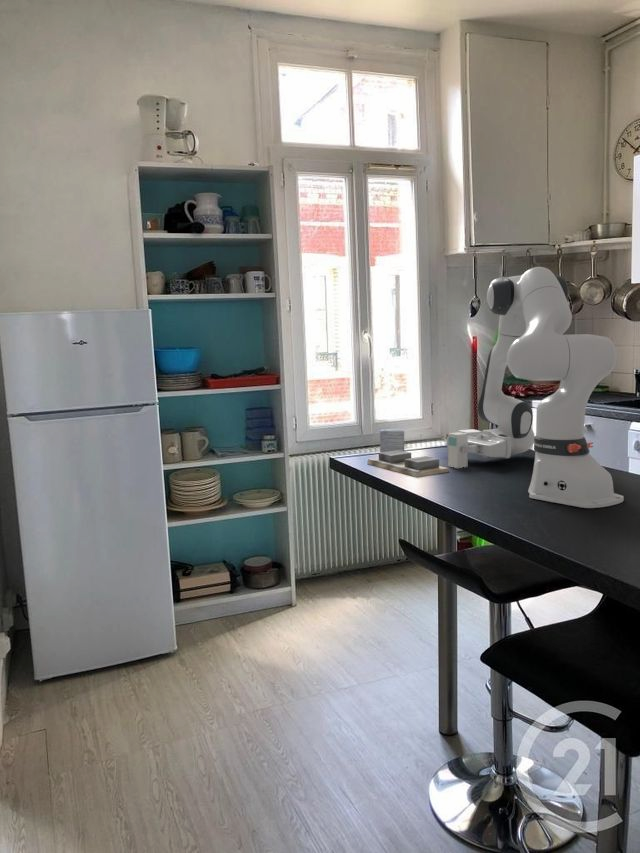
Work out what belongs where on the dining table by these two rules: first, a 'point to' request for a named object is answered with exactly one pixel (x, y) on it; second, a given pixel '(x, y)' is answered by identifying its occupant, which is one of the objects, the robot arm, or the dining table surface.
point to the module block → (457, 450)
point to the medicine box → (391, 440)
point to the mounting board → (408, 463)
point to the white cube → (470, 432)
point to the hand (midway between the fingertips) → (455, 448)
